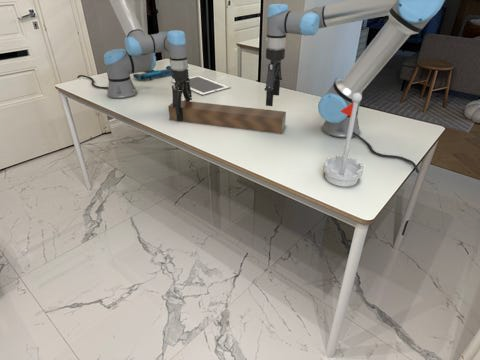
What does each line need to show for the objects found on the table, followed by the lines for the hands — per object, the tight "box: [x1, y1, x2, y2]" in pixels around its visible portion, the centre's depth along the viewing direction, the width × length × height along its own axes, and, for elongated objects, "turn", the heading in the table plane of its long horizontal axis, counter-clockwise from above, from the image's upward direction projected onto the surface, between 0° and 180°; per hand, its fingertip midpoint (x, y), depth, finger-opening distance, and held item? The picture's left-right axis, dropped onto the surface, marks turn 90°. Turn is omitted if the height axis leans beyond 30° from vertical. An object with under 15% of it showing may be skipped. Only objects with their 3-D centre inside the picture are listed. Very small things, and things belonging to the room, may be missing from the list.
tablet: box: [171, 75, 231, 96], centre depth 204 cm, size 32×20×1 cm, turn 41°
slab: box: [168, 99, 287, 134], centre depth 155 cm, size 54×8×7 cm, turn 73°
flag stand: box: [322, 93, 365, 187], centre depth 109 cm, size 13×13×30 cm
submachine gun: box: [132, 65, 172, 81], centre depth 224 cm, size 34×4×25 cm
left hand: (184, 116), depth 162 cm, fingers closed on slab, 9 cm apart
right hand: (272, 100), depth 145 cm, fingers open, 13 cm apart
